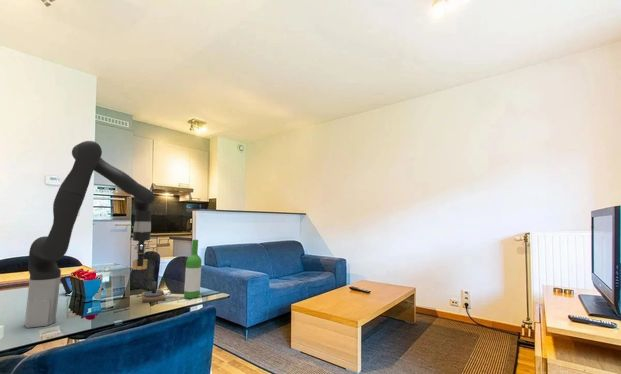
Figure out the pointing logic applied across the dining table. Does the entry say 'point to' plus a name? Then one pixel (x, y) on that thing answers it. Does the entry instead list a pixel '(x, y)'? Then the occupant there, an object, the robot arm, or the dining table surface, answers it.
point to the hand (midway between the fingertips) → (139, 264)
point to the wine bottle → (193, 273)
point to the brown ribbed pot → (139, 266)
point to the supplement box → (98, 295)
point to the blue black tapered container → (68, 284)
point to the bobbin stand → (153, 295)
